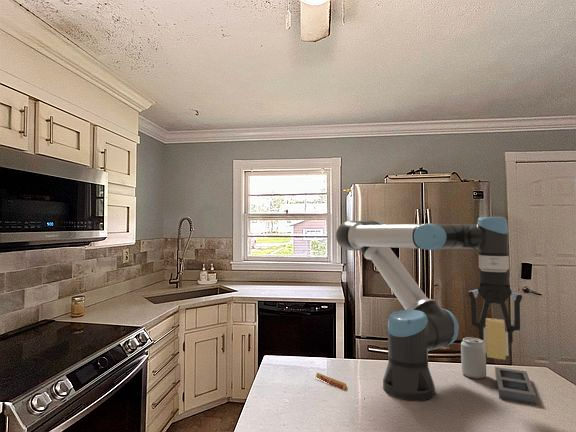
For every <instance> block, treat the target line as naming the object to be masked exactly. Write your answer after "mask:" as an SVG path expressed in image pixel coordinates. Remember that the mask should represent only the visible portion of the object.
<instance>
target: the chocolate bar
mask: <svg viewBox="0 0 576 432" xmlns="http://www.w3.org/2000/svg"><path fill="white" fill-rule="evenodd" d="M316 377H317V378H319V379H321V380H323V381H325V382H327V383H329V384H331V385H333V386H332V387H334V386H335V387H334V388H336V387H337V389H339V390H342V391H346V390H348V386H347V384H346V383H345V382H343V381H340V380H337V379H335V378H332V377H329V376H326V375H324V374H322V373H319V372H316V376H315V378H316ZM329 384H328V385H329ZM331 385H330V386H331Z"/></svg>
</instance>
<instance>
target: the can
mask: <svg viewBox="0 0 576 432" xmlns="http://www.w3.org/2000/svg"><path fill="white" fill-rule="evenodd" d="M460 361H461V365H460V367H461V373H463V375H465V377H468V378H471V379H479V380H480V379H484V378H485V377H486V376H487V353H484V340H480V339H479V338H478V337H464V338H462V341H461V342H460Z"/></svg>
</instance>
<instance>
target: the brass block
mask: <svg viewBox="0 0 576 432" xmlns="http://www.w3.org/2000/svg"><path fill="white" fill-rule="evenodd" d="M485 328H486V333H487V353H486V358H491V359H496V360H507V359H506V358H507V356H506V351H505V330H506V323H505V320H504V319H502V318H501V319H500V318H489V317H488V318H487V317H486V320H485Z"/></svg>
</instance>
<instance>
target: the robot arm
mask: <svg viewBox="0 0 576 432" xmlns="http://www.w3.org/2000/svg"><path fill="white" fill-rule="evenodd" d="M509 233H510V232H509V228H508V219H507V218H506V217H504V216H481V217H478V218H477V223H473V224H471V223H469V224H467V223H465V224H463V223H462V224H461V223H433V222H431V223H430V222H429V223H406V224H400V223H399V224H384V223H382V222H381V221H380V222H379V221H376V220H346V221H344V222H343V223H341V224H339V226H338V227H337V229H336V233H335V238H336V242H337V243H338V245H339V246H340V247H341V248H342V249H344V250H346V251H360V253H361V254H362V255H363V257H364V259H366V260H370V261H371V262H372V264H374V266H375V268H376V269H377V270H378V273H380V275H381V277H382V278H383V279H384V281H385V283H387V285H388V287H389V288H390V289H391V291H392V293H393V294H394V295H395V297H396V298H397V300H398V301H399V303H400V304H401V306H402V307H403V309H400V310H396V311H393V312H391V314H390V315H389V316H388V318H387V327H386V329H387V347H388V348H387V353H388V354H387V355H388V363H387V366H386V369H385V373H384V376H383V378H382V379H383V380H382V388H383V390H384V391H385V392H386V393H387V394H388V395H390V396H392V397H394V398H398V399H400V400H401V399H402V400H407V401H413V402H414V401H416V402H417V401H427V400H431V399H433V398H434V397H435V396H436V395H435V394H436V389H435V388H436V386H435V382H434V379H433V376H432V374H431V371H430V368H429V352H430V351H433V350H434V351H435V350H437V349H440V348H445V347H448V346H449V345H451V344H453V343H454V342H455V341H456V340H457V339H458V336H459V329H460V327H459V323H458V319H457V317H456V316H455V315H454V314H453V313H452V312H451V311H450V310H448V309H445V308H441V307H440V305H439V304H438V302H436V300H435V299H432V298H428V297H427V296H426V294H425V293H424V291H423V290H422V289H421V288H420V286H419V285H418V283H417V281H415V279H414V278H413V277H412V275H411V274H410V273H409V272H408V269H406V267H405V266H404V264H403V263H402V262H401V260H400V259H399V258H398V256H397V255H396V254H395V252H394V251H393V250H392V248H395V249H396V248H397V249H398V248H399V249H416V250H417V249H420V250H421V249H422V250H427V251H436V250H455V249H457V250H458V249H469V250H471V249H472V250H478V268H479V269H480V270H479V271H478V276H479V277H478V279H479V281H478V282H479V285H478V287H477V289H474V290H472V289H471V290H469V291H468V296H469V298H470V304H471V305H470V308H471V309H470V311H471V325H472V326H473V327H477V328H478V339H480V340H483V344H484V353H486V354H487V333H486V326H485V325H486V318H487V314H488V311H489V307H490V304H494V303H495V304H497V305H499V306H500V308H501V309H500V310H501V312H502V316H503V318H504V319H503V320H504V322H505V328H506V329H505V351H506V357H509V344H513V341H514V340H513V336H514V335H513V334H514V333H513V332H515V331H520V330H521V304H520V303H521V301H522V299H523V295H522V294H521V293H517V292H514V291H512V289H511V287H510V272H509V270H510V261H509V260H510V259H509V256H510V255H509ZM478 294H479V295H480V296H481V297H482V298H483V300H484V301H483V305H482V309H481V312H480V318H479V321H477V303H476V302H477V300H476V298H478ZM509 297H511V299H512V300H513V324H511V323H512V322H511V319H510V316H509V312H508V310H507V306H506V301H507V300H508V298H509Z"/></svg>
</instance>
